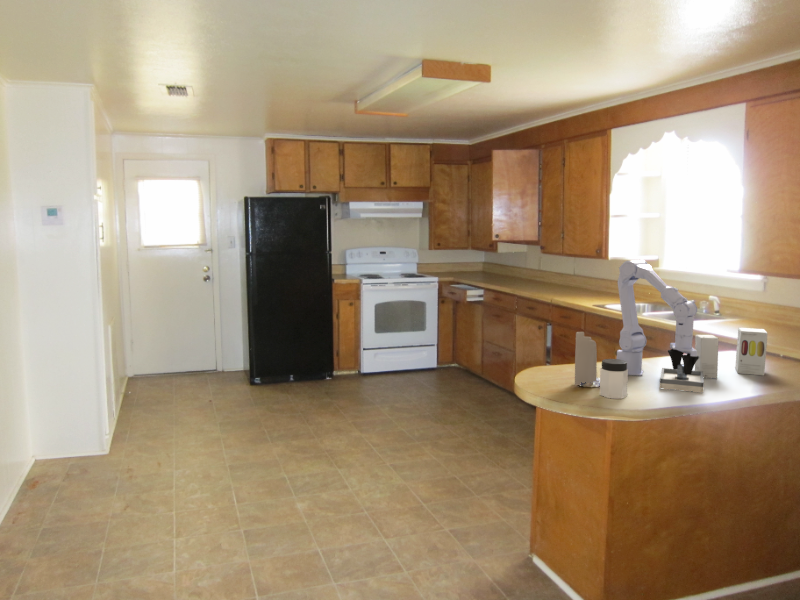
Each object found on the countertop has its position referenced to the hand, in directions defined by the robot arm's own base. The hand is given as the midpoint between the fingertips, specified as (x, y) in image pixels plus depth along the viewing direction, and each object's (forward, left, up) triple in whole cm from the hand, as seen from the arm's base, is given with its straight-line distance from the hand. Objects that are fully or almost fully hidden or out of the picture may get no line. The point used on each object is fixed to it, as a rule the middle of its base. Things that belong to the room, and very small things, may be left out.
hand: (681, 371), depth 231 cm
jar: (-21, -26, -5) cm, 34 cm away
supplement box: (+24, +30, -5) cm, 39 cm away
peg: (0, 0, -5) cm, 5 cm away
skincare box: (+8, +16, -5) cm, 18 cm away
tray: (0, -1, -5) cm, 5 cm away
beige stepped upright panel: (-29, -14, -5) cm, 32 cm away
